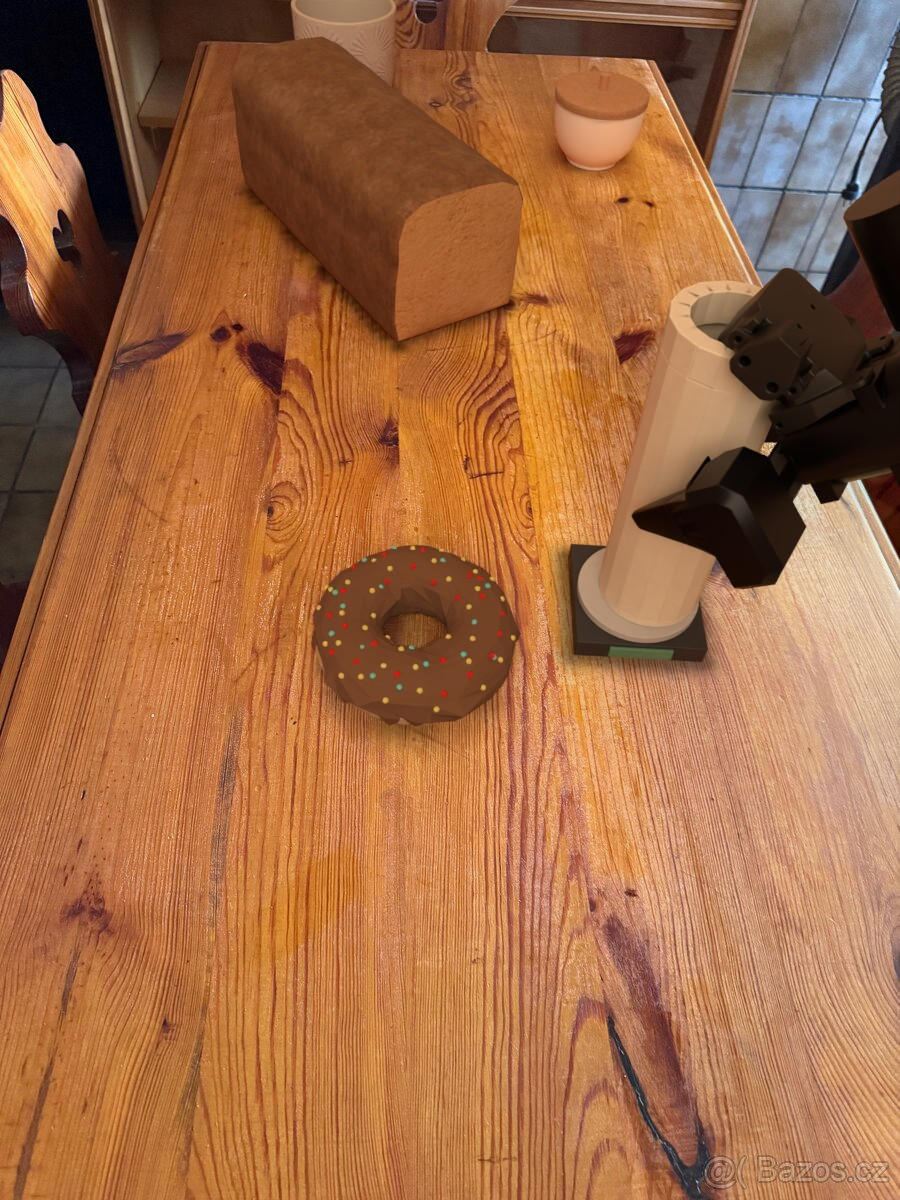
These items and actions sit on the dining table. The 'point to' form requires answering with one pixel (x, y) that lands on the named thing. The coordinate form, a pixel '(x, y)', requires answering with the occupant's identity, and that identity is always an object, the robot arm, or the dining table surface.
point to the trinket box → (598, 117)
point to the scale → (623, 620)
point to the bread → (375, 187)
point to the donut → (406, 674)
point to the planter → (352, 29)
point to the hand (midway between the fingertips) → (668, 475)
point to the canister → (680, 453)
